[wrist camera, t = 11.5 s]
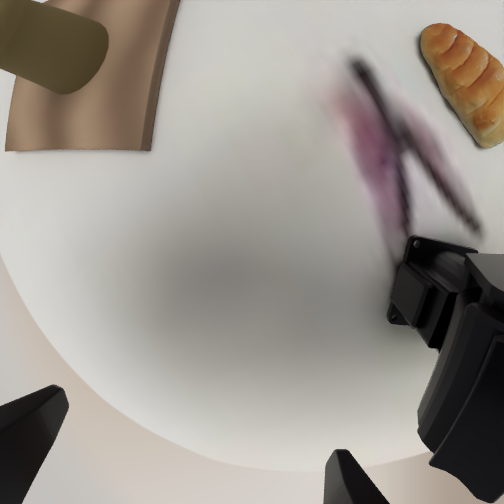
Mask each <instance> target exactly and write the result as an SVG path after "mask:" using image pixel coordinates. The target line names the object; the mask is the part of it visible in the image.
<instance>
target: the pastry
mask: <svg viewBox="0 0 504 504" xmlns="http://www.w3.org/2000/svg"><path fill="white" fill-rule="evenodd" d="M420 45H421V52H422V54H423V56H424V59H425V60H426V62H427V63H428V64H429V66H430V67H431V69H432V72H433V74H434V77H435V78H436V80H437V83H438V86H439V89H440V92H441V94H442V96H443V97H444V98H445V99H447V100H448V101H449V103H450V105H451V107H452V108H453V109H454V111H455V112H456V114H457V115H458V117H459V119H460V121H461V122H462V123H463V125H464V126H465V128H466V129H467V130H468V132H469V133H470V134H471V136H473V138H474V139H475V141H476V142H477V143H478V144H479V145H480V146H481V147H482V148H492V147H494V146H496V145H497V144H500V143H502V142H503V141H504V68H503V66H502V64H501V63H500V61H499V60H497V59H496V58H494V57H493V56H492V55H491V54H490V53H488V52H487V51H486V50H485V49H484V48H482V47H481V46H479V45H478V44H477V43H476V42H475V41H474V40H473V39H471V38H470V37H468V36H467V35H465V34H464V33H463V32H462V31H460V30H457V29H455V28H453V27H452V26H451V25H449V24H442V23H437V24H432V25H430V26H428V27H426V28H425V29H424V30H423V31H422V34H421V41H420Z"/></svg>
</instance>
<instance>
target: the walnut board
mask: <svg viewBox="0 0 504 504" xmlns="http://www.w3.org/2000/svg"><path fill="white" fill-rule="evenodd" d="M179 2H180V0H48V1H46V2H44V3H43V4H47V5H50V6H53V7H56V8H60V9H63V10H66V11H69V12H72V13H75V14H78V15H80V16H83V17H86V18H89V19H91V20H94V21H96V22H99V23H101V24H102V25H103V26H104V27H105V28H106V30H107V32H108V35H109V48H108V51H107V54H106V57H105V60H104V62H103V64H102V65H101V67H100V69H99V71H98V72H97V73H96V74H95V76H94V77H93V78H92V79H91V80H90V82H88V83H87V84H86V85H85V86H83V87H82V88H81V89H80V90H77V91H75V92H73V93H71V94H61V95H60V94H58V93H56V92H53V91H51V90H49V89H47V88H45V87H42V86H40V85H38V84H36V83H33V82H31V81H29V80H26V79H24V78H22V77H19V76H17V75H16V79H15V84H14V89H13V94H12V99H11V105H10V111H9V118H8V125H7V133H6V143H5V151H22V150H42V149H125V150H147V151H150V148H151V140H152V133H153V126H154V119H155V112H156V106H157V100H158V94H159V88H160V83H161V78H162V72H163V67H164V63H165V58H166V53H167V49H168V44H169V40H170V36H171V32H172V28H173V24H174V20H175V16H176V13H177V9H178V5H179Z"/></svg>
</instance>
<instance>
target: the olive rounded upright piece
mask: <svg viewBox="0 0 504 504" xmlns="http://www.w3.org/2000/svg"><path fill="white" fill-rule="evenodd" d="M108 48H109V35H108V32H107V30H106V28H105V27H104V26H103V25H102V24H101V23H99V22H96V21H94V20H91V19H89V18H86V17H83V16H80V15H78V14H75V13H72V12H69V11H66V10H63V9H60V8H56V7H53V6H50V5H47V4H43V3H40V2H36V1H32V0H0V69H3V70H5V71H8V72H10V73H12V74H15V75H17V76H19V77H22V78H24V79H26V80H29V81H31V82H33V83H36V84H38V85H40V86H42V87H45V88H47V89H49V90H51V91H53V92H56V93H58V94H60V95H61V94H71V93H73V92H75V91H77V90H80V89H81V88H82V87H83V86H85V85H86V84H87V83H88V82H90V80H91V79H92V78H93V77H94V76H95V74H96V73H97V72H98V71H99V69H100V67H101V65H102V64H103V62H104V60H105V57H106V54H107V51H108Z"/></svg>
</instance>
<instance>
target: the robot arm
mask: <svg viewBox="0 0 504 504" xmlns="http://www.w3.org/2000/svg"><path fill="white" fill-rule="evenodd" d="M416 240H417V241H418V243H417V245H416V246H414V242H415V241H416ZM391 300H392V301H391V304H390V307H389V310H388V313H387V320H388V321H389V322H390V323H391V324H398V325H409V326H411V327H412V328H414V329H416V330H417V332H418V333H419V335H420V336H421V337H422V339H423V340H424V341H425V343H426V344H427V346H428V347H429V348H435V349H436V350H437V352H438V353H439V357H438V360H437V362H436V365H435V368H434V370H433V373H432V376H431V378H430V381H429V383H428V386H427V388H426V390H425V393H424V395H423V397H422V400H421V403H420V405H419V408H418V411H417V413H418V425H419V427H418V430H417V432H418V434H419V436H420V438H421V440H422V442H423V443H424V444H425V445H426V446H427V447H428V448H429V450H430V451H432V452H433V453H434V455H433V457H432V458H431V460H430V461H429V465H430V466H432V467H435V468H438V469H441V470H444V471H447V472H448V473H450V474H452V475H453V476H455V477H457V478H458V479H459V480H460V481H461V482H462V483H463V484H464V485H465V486H466V487H467V488H468V489H469V491H470V492H471V493H472V494H473V495H474V496H475V497H476V498H477V499H480V500H482V501H485V502H487V503H494V502H495V501H497V500H498V499H499V498H500V497H501V496H502V495H503V494H504V254H479V253H478V251H477V250H475V249H473V248H469V247H465V246H461V245H457V244H452V243H448V242H444V241H439V240H435V239H430V238H426V237H421V236H417V235H414V236H412V237H411V238H410V239H409V241H408V245H407V249H406V253H405V257H404V260H403V263H402V264H401V265H400V267H399V271H398V274H397V278H396V281H395V285H394V288H393V291H392V294H391ZM393 315H396V316H395V317H394V318H392V316H393ZM68 408H69V403H68V400H67V397H66V394H65V391H64V389H63V388H61V387H59V386H57V385H50V386H48V387H45V388H43V389H41V390H39V391H36V392H33V393H31V394H29V395H26V396H24V397H21V398H19V399H16V400H14V401H11V402H9V403H6V404H4V405H2V406H0V504H22V502H23V500H24V498H25V496H26V494H27V492H28V490H29V488H30V486H31V484H32V482H33V480H34V478H35V477H36V475H37V473H38V471H39V469H40V467H41V465H42V463H43V462H44V460H45V458H46V456H47V454H48V452H49V450H50V449H51V447H52V445H53V443H54V441H55V439H56V437H57V435H58V432H59V430H60V428H61V425H62V423H63V420H64V418H65V416H66V414H67V411H68ZM323 504H390V503H389V502H388V501H387V500H386V498H385V497H384V496H383V495H382V493H381V492H380V491H379V490H378V488H377V487H376V486H375V484H374V483H373V482H372V481H371V479H370V478H369V477H368V475H367V474H366V473H365V472H364V470H363V469H362V468H361V466H360V465H359V464H358V462H357V461H356V460H355V458H354V457H353V456H352V454H351V453H350V452H349V451H348V450H347V449H336V450H334V451H333V453H332V455H331V456H330V458H329V460H328V461H327V463H326V467H325V486H324V503H323Z"/></svg>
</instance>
